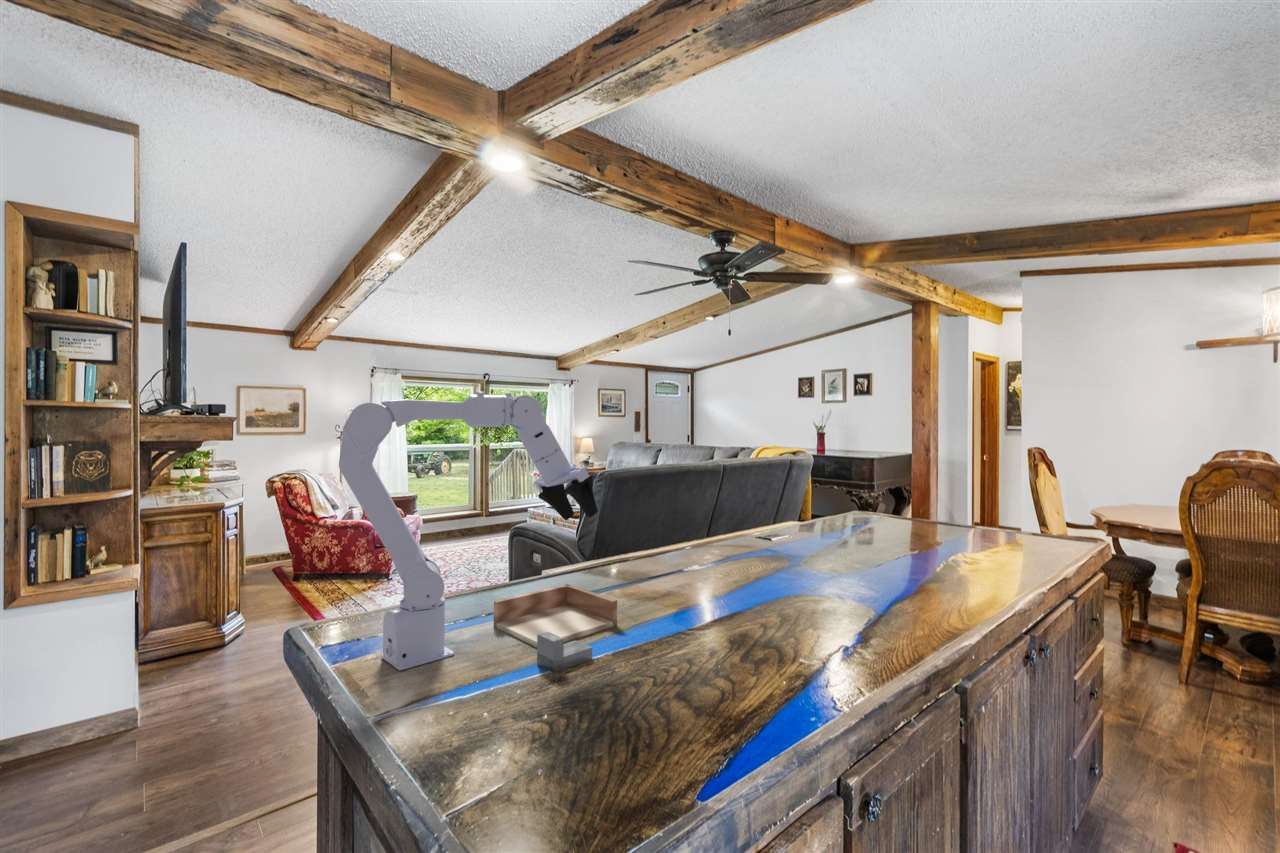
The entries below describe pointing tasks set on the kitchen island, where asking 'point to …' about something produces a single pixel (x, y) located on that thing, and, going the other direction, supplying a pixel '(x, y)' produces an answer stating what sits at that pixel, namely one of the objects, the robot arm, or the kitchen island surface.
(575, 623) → the corner arena
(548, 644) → the angle bracket
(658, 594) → the kitchen island surface
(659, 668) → the kitchen island surface
